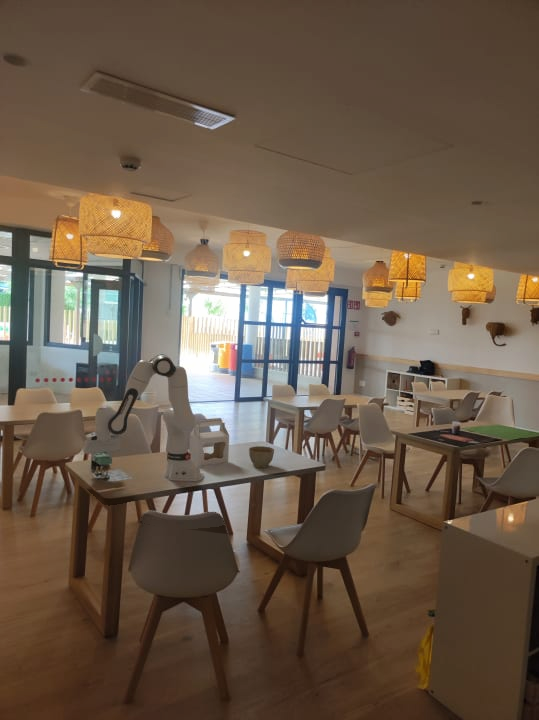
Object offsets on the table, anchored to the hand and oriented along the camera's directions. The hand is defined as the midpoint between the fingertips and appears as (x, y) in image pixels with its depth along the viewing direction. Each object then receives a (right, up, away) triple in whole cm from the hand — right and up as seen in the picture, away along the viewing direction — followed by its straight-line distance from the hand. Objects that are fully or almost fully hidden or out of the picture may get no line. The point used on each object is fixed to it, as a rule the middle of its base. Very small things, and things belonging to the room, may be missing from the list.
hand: (101, 460), depth 287 cm
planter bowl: (+88, -12, +41) cm, 98 cm away
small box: (-7, -9, +20) cm, 23 cm away
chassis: (+5, -10, +2) cm, 12 cm away
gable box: (+54, -10, +45) cm, 71 cm away
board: (0, -1, 0) cm, 1 cm away
